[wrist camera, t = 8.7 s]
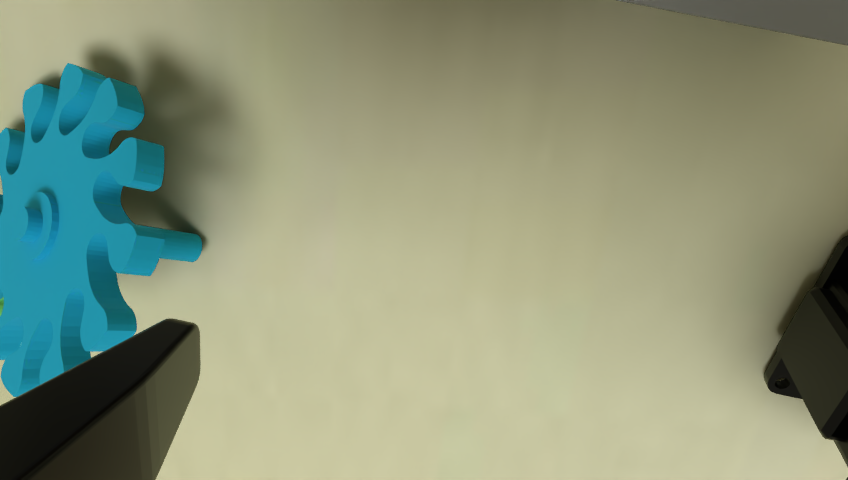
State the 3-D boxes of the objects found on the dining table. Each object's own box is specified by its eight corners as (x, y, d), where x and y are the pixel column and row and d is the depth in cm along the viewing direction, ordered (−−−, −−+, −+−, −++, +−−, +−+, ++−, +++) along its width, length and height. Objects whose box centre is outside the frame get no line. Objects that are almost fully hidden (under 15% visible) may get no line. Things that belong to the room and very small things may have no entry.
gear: (99, -11, 18) (135, 338, 15) (263, 63, 23) (316, 340, 20) (-70, 161, 24) (-69, 445, 21) (91, 193, 29) (112, 426, 25)
